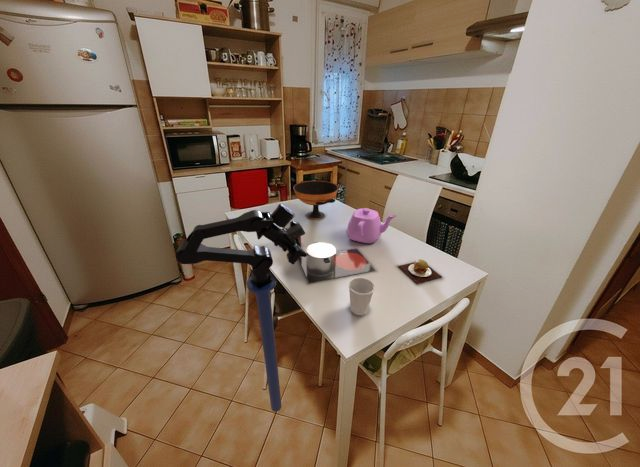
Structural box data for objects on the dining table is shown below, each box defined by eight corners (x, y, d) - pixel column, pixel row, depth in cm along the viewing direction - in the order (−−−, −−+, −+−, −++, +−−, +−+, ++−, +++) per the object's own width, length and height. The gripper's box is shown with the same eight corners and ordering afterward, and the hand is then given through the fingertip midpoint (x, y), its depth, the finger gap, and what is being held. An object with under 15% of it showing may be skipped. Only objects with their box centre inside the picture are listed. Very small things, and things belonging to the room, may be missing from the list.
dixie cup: (344, 300, 91) (346, 277, 87) (368, 299, 92) (371, 276, 87) (348, 319, 84) (350, 294, 79) (374, 317, 84) (378, 293, 80)
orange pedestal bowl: (284, 208, 164) (283, 181, 156) (320, 202, 175) (320, 176, 166) (309, 232, 136) (309, 200, 128) (350, 223, 147) (352, 193, 138)
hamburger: (421, 261, 113) (424, 250, 111) (441, 277, 104) (444, 266, 101) (398, 266, 110) (400, 255, 107) (416, 284, 100) (419, 272, 97)
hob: (309, 283, 100) (309, 282, 99) (298, 258, 115) (298, 257, 114) (375, 270, 107) (375, 270, 107) (356, 248, 122) (356, 248, 122)
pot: (312, 279, 101) (312, 262, 97) (302, 258, 114) (302, 242, 110) (341, 274, 104) (342, 257, 101) (328, 254, 117) (328, 238, 113)
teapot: (340, 245, 125) (342, 216, 118) (352, 226, 143) (354, 200, 136) (389, 254, 118) (393, 224, 111) (394, 234, 135) (399, 207, 128)
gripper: (297, 230, 87) (327, 253, 95) (286, 209, 103) (313, 230, 111) (275, 254, 89) (307, 274, 97) (267, 230, 104) (295, 249, 113)
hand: (306, 255), depth 104 cm, fingers closed
